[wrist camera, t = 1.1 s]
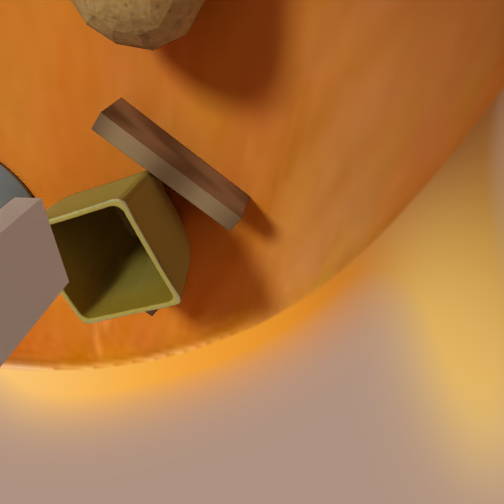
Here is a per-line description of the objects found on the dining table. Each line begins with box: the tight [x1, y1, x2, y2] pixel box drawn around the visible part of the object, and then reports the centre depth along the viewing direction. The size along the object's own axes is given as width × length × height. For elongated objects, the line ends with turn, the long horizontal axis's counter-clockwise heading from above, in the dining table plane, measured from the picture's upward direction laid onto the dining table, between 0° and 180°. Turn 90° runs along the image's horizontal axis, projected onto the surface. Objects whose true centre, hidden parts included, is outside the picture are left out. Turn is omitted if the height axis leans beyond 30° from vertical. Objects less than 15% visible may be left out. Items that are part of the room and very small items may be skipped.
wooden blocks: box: [92, 98, 250, 316], centre depth 38 cm, size 12×14×4 cm
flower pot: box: [46, 171, 190, 323], centre depth 36 cm, size 9×9×9 cm
